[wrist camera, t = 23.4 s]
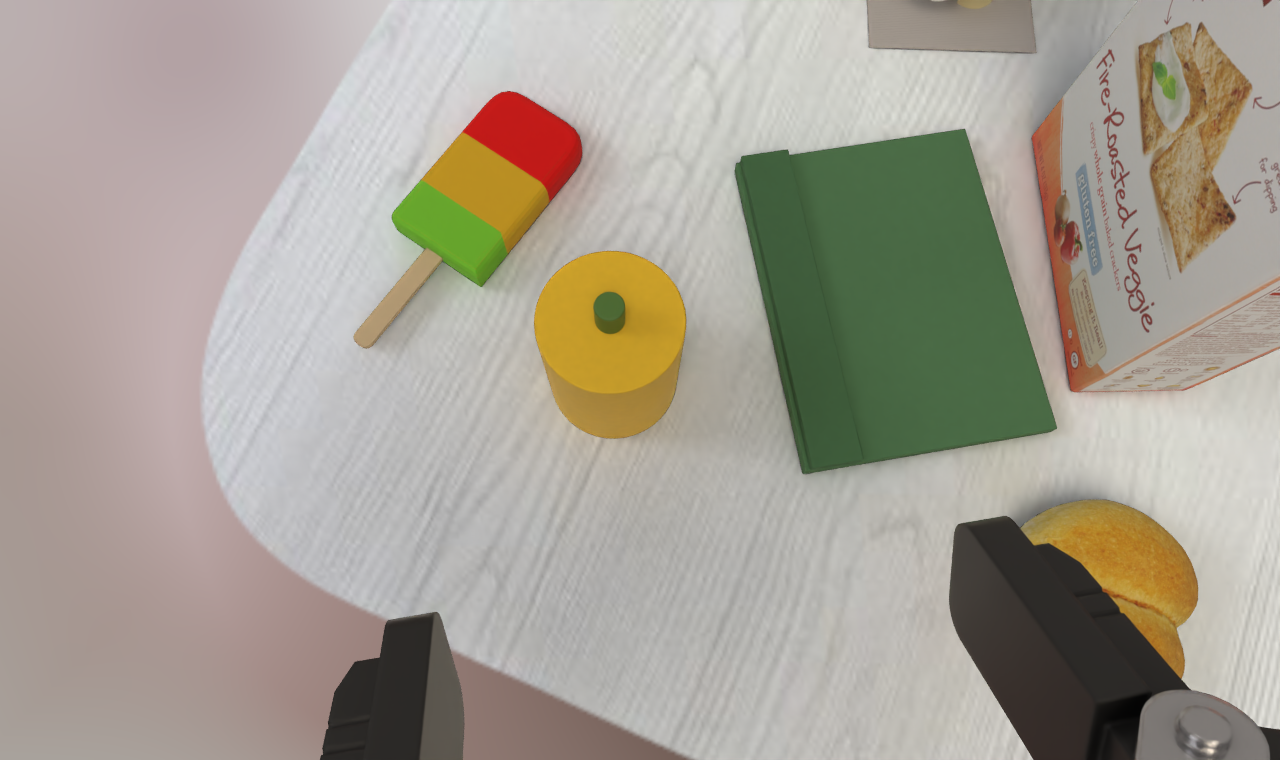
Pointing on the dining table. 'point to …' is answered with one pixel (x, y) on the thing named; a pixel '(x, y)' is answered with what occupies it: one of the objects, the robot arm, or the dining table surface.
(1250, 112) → the cracker box
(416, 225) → the popsicle
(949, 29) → the stacked layers on plate
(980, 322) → the green notebook
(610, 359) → the yellow cylinder with peg
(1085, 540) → the bread roll
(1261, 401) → the dining table surface
